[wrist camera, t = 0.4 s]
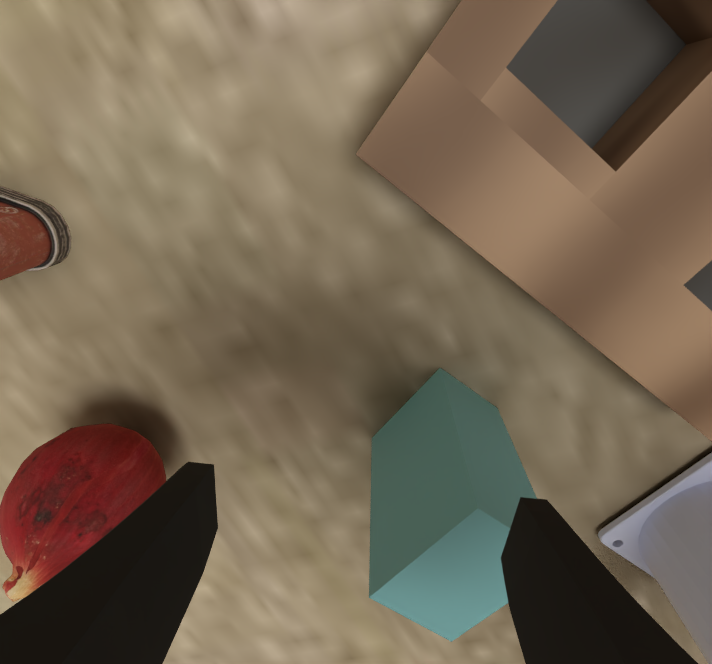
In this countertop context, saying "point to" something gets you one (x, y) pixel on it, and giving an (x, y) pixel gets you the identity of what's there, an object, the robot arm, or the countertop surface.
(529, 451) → the countertop surface
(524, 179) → the socket board
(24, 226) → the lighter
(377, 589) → the teal cuboid tower
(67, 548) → the onion
